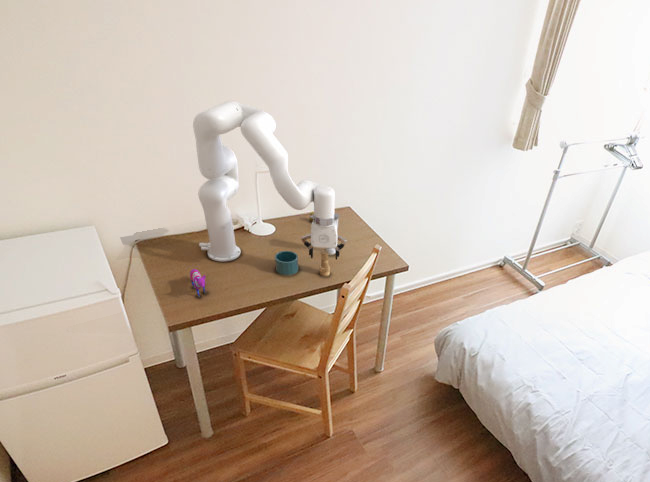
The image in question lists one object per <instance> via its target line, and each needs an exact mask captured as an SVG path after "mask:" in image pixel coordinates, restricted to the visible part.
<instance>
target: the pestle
mask: <svg viewBox="0 0 650 482" xmlns="http://www.w3.org/2000/svg"><path fill="white" fill-rule="evenodd" d="M320 257H321V258H320V265H319V275H320V276H321V277H328V276H330V274H331V266H330V265H329V254H328V251H327V250H326V249H321V251H320Z"/></svg>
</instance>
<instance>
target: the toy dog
mask: <svg viewBox="0 0 650 482" xmlns="http://www.w3.org/2000/svg"><path fill="white" fill-rule="evenodd" d="M206 276H207V275H206V274H203V276H202V275H201V272H200V271H199V270H198V269H196V268H193V269H191V270H190V272H189V277H190V282H191V285H192V288H193V289H194V290H196V293H197V298H199V299H200V298H201V296H200V290H199V289H200V288H202V291H203V294H204V295H207V291H206V289H205V287H206Z"/></svg>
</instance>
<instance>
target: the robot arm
mask: <svg viewBox="0 0 650 482" xmlns="http://www.w3.org/2000/svg"><path fill="white" fill-rule="evenodd" d="M192 128H193V134H194V139H195V146H196V147H195V148H196V156H197V163H198V165H197V166H198V169H199V172H200V174H201V176H203V178H204V179H207V180H206V181H205V182H204V183H202V185H201V186H200V187H199V189H198V191H197V192H198V193H197V196H198V200H199V202H200V205H201V207H202V210H203V214H204V219H205V224H206V229H207V236H208V241H209V242H199V244H198V245H199V248H200V249H201V251H207V257H208V258H209V259H211V260H213V261H214V262H215V261H216V262H223V263H225V262H231V261H235V260H236V259H238V258H239V257H240V256H241V253H242V252H241V248H240V247H239V246H237V243H236V238H235V231H234V230H235V229H234V223H233V217H232V212H231V209H230V208H229V207H228V204H227V203H228V201H230V199H231V198H233V197H234V196H235V195H236V194H237V193H238V191H239V187H240V178H239V165H238V158H237V156H236V154H235V152H234V151H233V149H231V148H230V147H228V146H227V145H224V144H223V140H222V137H221V135H224V134H226V133H229V132H232V131H233V130H235V129H236V128H240V132H241V135H242V136H243V138H244V139H245V140H246V142H247V143H248V144H249V145H250V147H251V148H252V149H253V150H254V151H255V152H256V154H257V155H258V156H259V158H260V159H261V160H262V161H263V163H264V164H265V165H266V166H267V168H268V170H269V176H270V178H271V181H272V183H273V185H274V188H275V189H276V191H277V193H278V194H279V195H280V196H281V198H282V199H283V201H284V202H286V204H287V205H288V206H290V208H292V209H294V210H296V211H301V210H304V209H306V208H307V207H308V206H310V204H311V203H313V212H314V214H313V215H310V214H309V220H310V219H313V221H311V226H310V233H308V234H306V235H304V236H301V238H300V240H301V241H302V243H303V245H304V246H305V247H306V248H307V249H308V256H310V259H313V258H314V248H320V249H322V248H323V249H327V248H335V250H336V253H335V257H334V258H335V261H336V260H337V261H338V258H340V251H341V250H342V249H343V248H344V247H345V246H346V245H347V242H348V240H347V239H346V238H345V237H343V236H340V235H338V228H337V225H336V222H335V221H334V213H336V212H335V211H336V210H335V208H336V207H335V205H336V204H335V203H336V192H335V190H334V188H333V187H332V186H329V185H321V184H319V183H317V182H314V181H312V180H308V179H302V180H301V181H299V182H298V183H297V184H296V183H295V182H294V181H293V179H292V177H291V175H290V171H289V166H288V165H289V154H288V151H287V150H286V149H285V148H284V146H283V145H282V144H281V142H280V141H279V140H278V139H277V137H276V135H275V134H274V133H275V132H276V129H277V123H276V121H275V119H274V118H273V116H272V115H271V114H270V113H268V112H267V111H264V110H262V109H261V108H260V109H259V108H257V107H254V106H251V105H248V104H245V103H243V102H238V101H235V100H227V101H224V102H222V103H220V104H218V105H215V106H213V107H211V108H208V109H206V110H204V111H201V112H199V113H197V114H196V116H195V117H194V118H193V123H192ZM307 240H310V242H309V241H307ZM338 241H339V242H341V243H339V242H338Z"/></svg>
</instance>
